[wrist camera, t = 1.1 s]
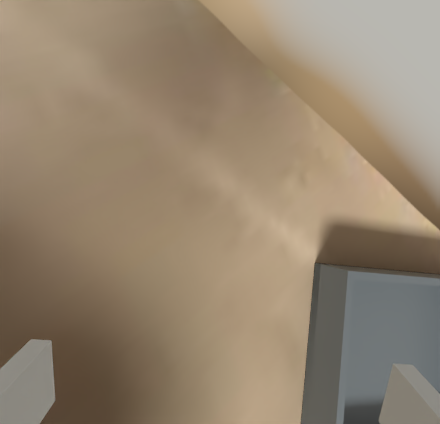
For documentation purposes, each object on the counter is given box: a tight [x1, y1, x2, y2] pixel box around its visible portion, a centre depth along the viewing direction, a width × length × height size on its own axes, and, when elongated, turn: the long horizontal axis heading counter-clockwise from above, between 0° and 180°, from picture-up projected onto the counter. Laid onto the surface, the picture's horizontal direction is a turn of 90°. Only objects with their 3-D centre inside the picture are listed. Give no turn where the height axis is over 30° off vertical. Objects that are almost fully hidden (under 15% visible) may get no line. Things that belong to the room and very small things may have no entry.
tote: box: [301, 263, 440, 424], centre depth 29 cm, size 20×22×5 cm
